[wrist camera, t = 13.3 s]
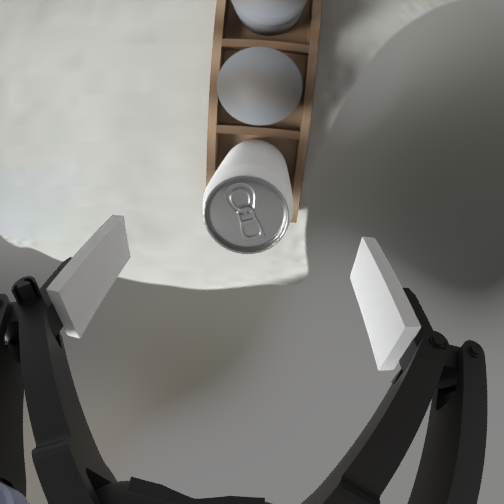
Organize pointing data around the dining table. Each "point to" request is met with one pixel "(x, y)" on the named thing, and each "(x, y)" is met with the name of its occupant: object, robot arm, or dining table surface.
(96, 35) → the dining table surface
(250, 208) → the can
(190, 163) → the dining table surface
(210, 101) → the socket rail
